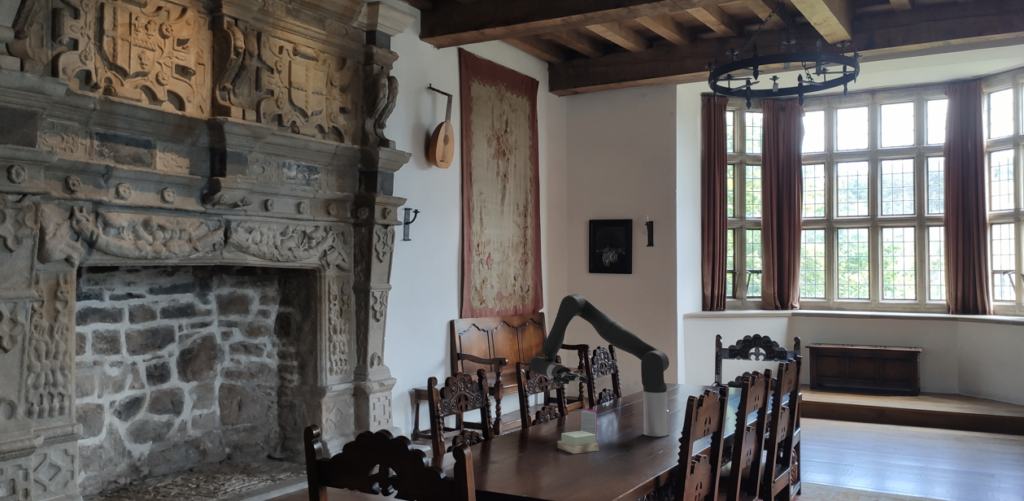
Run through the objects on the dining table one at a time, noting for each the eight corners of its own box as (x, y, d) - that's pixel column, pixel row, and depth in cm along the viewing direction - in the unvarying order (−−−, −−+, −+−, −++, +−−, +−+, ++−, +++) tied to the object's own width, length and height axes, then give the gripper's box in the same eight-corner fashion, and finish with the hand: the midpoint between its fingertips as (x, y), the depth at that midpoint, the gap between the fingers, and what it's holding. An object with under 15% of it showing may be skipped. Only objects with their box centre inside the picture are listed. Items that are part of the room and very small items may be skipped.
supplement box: (595, 442, 293) (595, 411, 293) (580, 441, 294) (580, 411, 295) (597, 439, 299) (597, 409, 299) (582, 438, 300) (581, 408, 300)
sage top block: (581, 438, 288) (581, 430, 288) (596, 443, 280) (595, 434, 280) (561, 441, 283) (561, 433, 283) (575, 446, 275) (575, 437, 275)
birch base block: (582, 446, 288) (582, 438, 289) (599, 452, 279) (599, 443, 279) (557, 449, 283) (557, 441, 283) (573, 455, 274) (573, 446, 274)
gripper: (544, 364, 317) (562, 372, 303) (574, 364, 323) (594, 371, 308) (543, 382, 318) (561, 391, 303) (573, 381, 323) (592, 390, 309)
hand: (577, 381), depth 306 cm, fingers open, 8 cm apart
